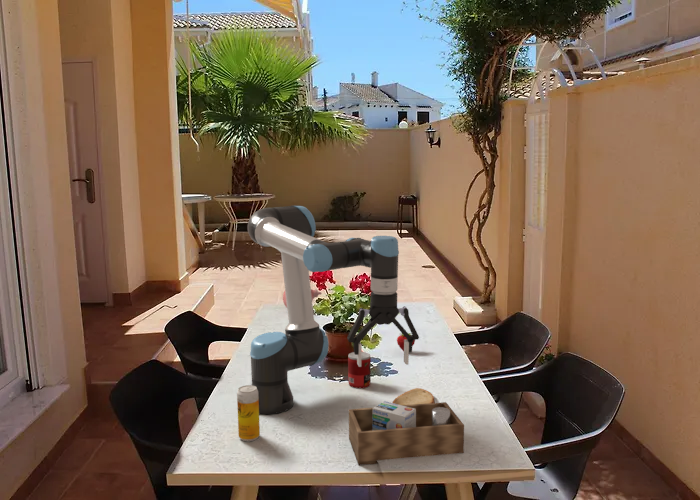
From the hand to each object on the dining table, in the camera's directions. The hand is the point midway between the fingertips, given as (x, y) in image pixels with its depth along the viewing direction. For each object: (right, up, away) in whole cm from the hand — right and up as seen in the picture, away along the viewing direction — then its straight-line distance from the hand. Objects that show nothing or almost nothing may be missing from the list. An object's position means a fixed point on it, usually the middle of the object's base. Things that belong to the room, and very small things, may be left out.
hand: (382, 364), depth 182 cm
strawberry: (+14, -10, +81) cm, 82 cm away
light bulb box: (+3, -22, -3) cm, 23 cm away
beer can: (-39, -22, +4) cm, 45 cm away
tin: (+16, -22, -1) cm, 27 cm away
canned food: (-6, -16, +45) cm, 48 cm away
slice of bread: (+11, -19, +27) cm, 35 cm away
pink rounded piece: (-34, 0, +148) cm, 152 cm away
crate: (+6, -23, -3) cm, 24 cm away
